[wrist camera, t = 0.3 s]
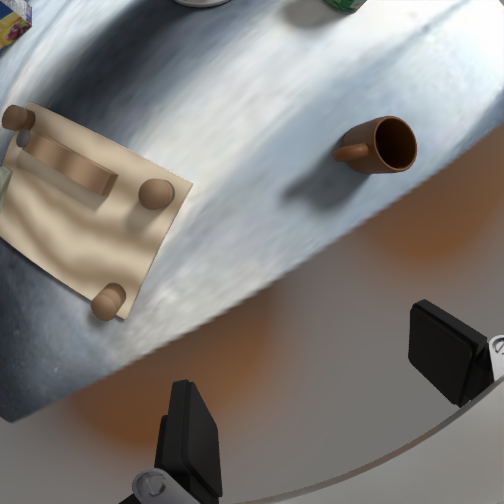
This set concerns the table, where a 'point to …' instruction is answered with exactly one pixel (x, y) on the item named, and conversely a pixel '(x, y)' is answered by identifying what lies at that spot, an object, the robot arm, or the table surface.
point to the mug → (378, 146)
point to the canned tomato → (344, 5)
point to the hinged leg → (67, 161)
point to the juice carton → (13, 20)
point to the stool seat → (86, 212)
